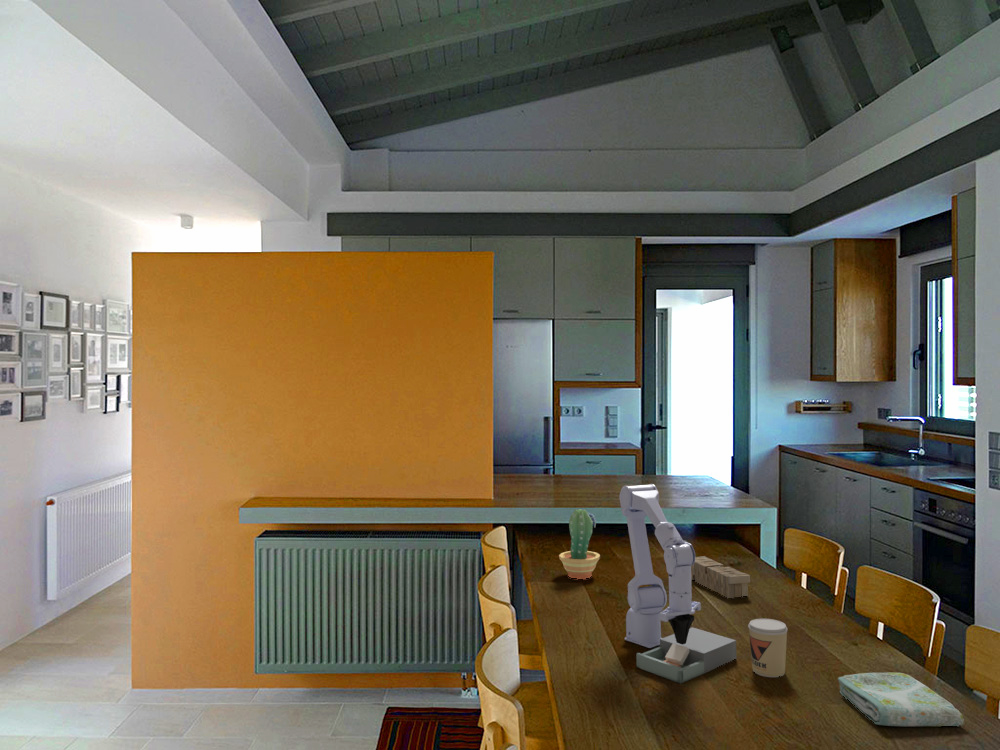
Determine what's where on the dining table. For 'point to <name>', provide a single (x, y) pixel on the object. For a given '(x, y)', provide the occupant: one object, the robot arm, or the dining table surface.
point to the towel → (898, 700)
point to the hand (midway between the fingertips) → (681, 643)
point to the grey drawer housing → (704, 648)
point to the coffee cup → (768, 647)
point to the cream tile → (677, 654)
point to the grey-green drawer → (668, 666)
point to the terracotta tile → (673, 663)
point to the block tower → (720, 577)
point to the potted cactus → (580, 546)
